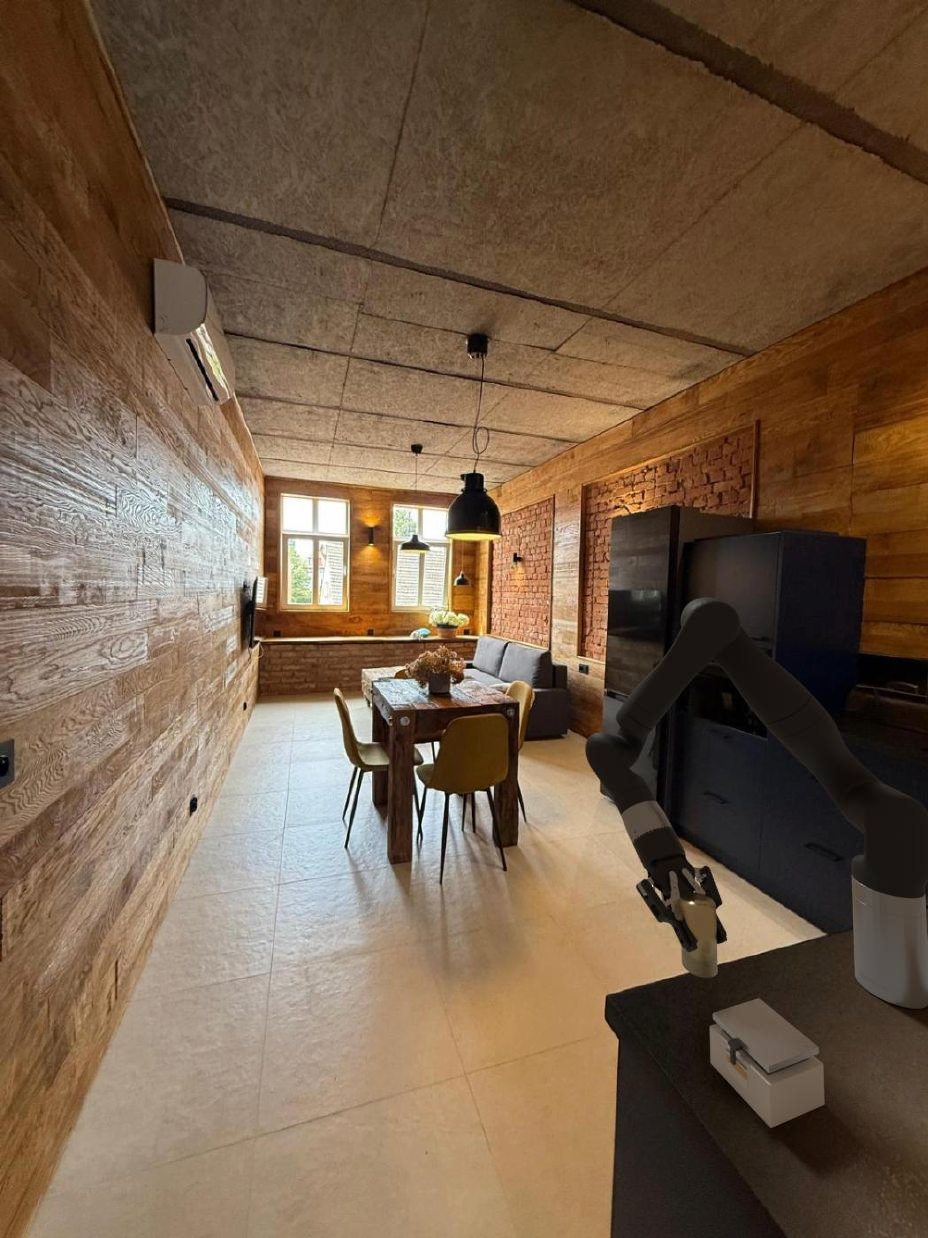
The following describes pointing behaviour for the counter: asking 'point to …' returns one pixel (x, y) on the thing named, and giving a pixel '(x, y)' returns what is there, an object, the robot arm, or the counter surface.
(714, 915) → the disc
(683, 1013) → the counter surface
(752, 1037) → the box lid
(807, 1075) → the white latched box
